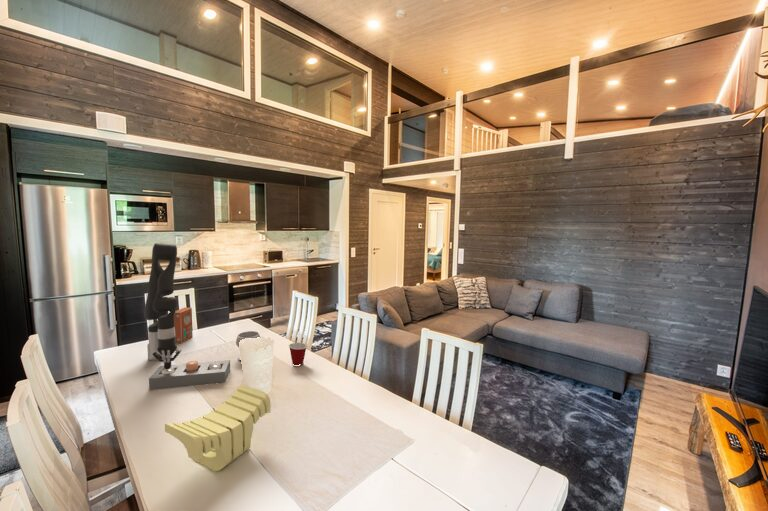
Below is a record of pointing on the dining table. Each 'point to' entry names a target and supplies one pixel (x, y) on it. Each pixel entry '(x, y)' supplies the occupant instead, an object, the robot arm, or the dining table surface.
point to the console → (189, 376)
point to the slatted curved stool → (223, 428)
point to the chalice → (246, 335)
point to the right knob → (215, 366)
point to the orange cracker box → (183, 324)
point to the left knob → (168, 371)
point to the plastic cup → (297, 352)
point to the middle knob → (192, 366)
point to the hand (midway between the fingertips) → (167, 368)
